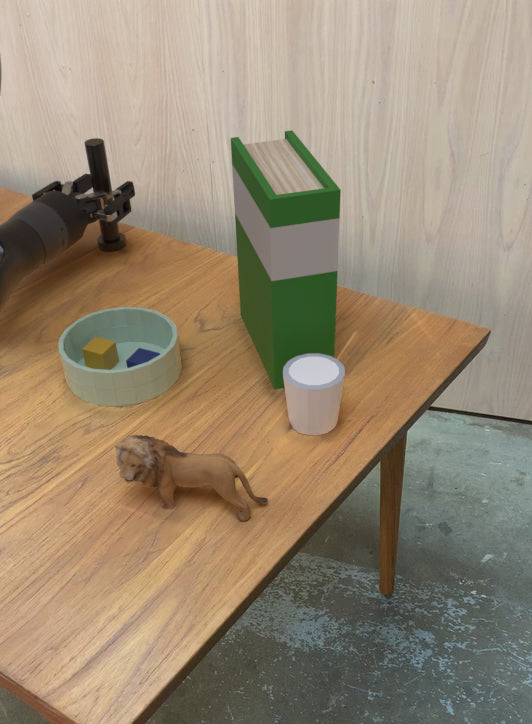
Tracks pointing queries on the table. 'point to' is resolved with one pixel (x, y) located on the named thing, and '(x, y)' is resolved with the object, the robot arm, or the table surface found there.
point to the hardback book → (285, 250)
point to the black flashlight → (102, 182)
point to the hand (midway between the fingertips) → (110, 183)
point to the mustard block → (100, 354)
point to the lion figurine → (181, 471)
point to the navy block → (140, 357)
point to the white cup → (313, 392)
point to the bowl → (122, 356)
